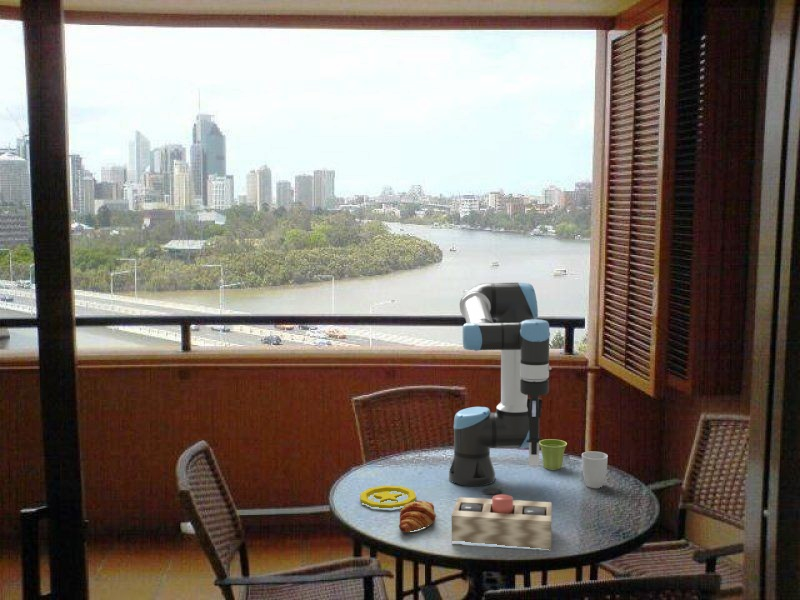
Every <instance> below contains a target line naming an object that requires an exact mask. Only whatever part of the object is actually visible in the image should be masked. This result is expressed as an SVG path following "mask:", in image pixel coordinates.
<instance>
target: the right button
mask: <svg viewBox="0 0 800 600" xmlns="http://www.w3.org/2000/svg"><path fill="white" fill-rule="evenodd" d="M524 514H525V515H542V516H545V510H544V509H542V508H539V507H528V508H525V509H524Z"/></svg>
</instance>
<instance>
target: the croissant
mask: <svg viewBox="0 0 800 600" xmlns="http://www.w3.org/2000/svg"><path fill="white" fill-rule="evenodd" d="M435 521H436V513H435V505H434V503H433V502H429V501H423V500H416V502H412V503H409V504H406V505H404V507H403V508H402V509H400V513H399V525H398V527H399V530H400V532H402V533H404V532H410V531H414V530H418V529H421V528H423V527H427V526H428V525H429V526H431V525H432V524H434V523H435ZM430 524H431V525H430ZM429 526H428V527H429ZM428 527H427V528H428Z"/></svg>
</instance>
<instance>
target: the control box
mask: <svg viewBox="0 0 800 600" xmlns="http://www.w3.org/2000/svg"><path fill="white" fill-rule="evenodd" d="M455 501H456V502H455V504H454V507H453V510H452V513H451V542H452V541H465V542H471V543H485V544H497V545H505V546H517V547H530V548H541V549H549V550H551V551H552V503H553V502H551V501H539V500H538V501H533V500H520V499H519V500H517V499H516V500H514V499H513V514H507V513H492V498H479V497H461V496H460V497H459V496H458V497H457V499H456V500H455ZM469 503H472V504H478V505H480V506H481V512H473V511H461V506H462V505H464V504H469ZM528 507H539V508H542V509H544V510H545V516H542V515H525V514H524V509H525V508H528Z"/></svg>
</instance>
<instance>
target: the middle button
mask: <svg viewBox="0 0 800 600" xmlns="http://www.w3.org/2000/svg"><path fill="white" fill-rule="evenodd" d="M491 499H492V513H507V514H513V500H514V497H513V496H511V495H509V494H495V495H493V496H492V498H491Z"/></svg>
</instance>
